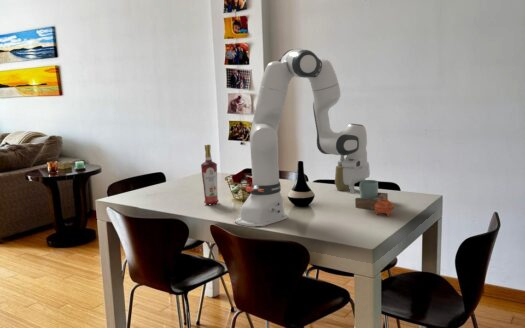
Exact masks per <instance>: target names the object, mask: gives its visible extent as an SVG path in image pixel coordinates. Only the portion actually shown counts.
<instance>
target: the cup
mask: <svg viewBox="0 0 525 328" xmlns="http://www.w3.org/2000/svg"><path fill="white" fill-rule="evenodd" d="M359 185H360V189H359V196H360V197H359V198H365V199H373V198H375V197H377V196H378V192H379V182H378V180H375V179H374V180H373V179H365V180H363V181H359Z"/></svg>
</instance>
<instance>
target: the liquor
mask: <svg viewBox="0 0 525 328" xmlns="http://www.w3.org/2000/svg"><path fill="white" fill-rule="evenodd" d="M204 150H205V151H204V152H205V156H204V157H205V158H204V159H205V161H204V162H202V163H201V164H200V169H201V176H202V184H203V195H204V201H203V202H204V203H205V204H206V205H207V204H215V205H217V204H218V203H219V201H220V200H219V199H218V164H217V163H216V162H215V161H213V159H212V153H211V152H212V151H211V150H212V149H211V144H204ZM216 203H217V204H216Z"/></svg>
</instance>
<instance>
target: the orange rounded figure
mask: <svg viewBox="0 0 525 328" xmlns="http://www.w3.org/2000/svg"><path fill="white" fill-rule="evenodd" d="M374 208H375V214H376V215H378V213H380V214H386V215H387V217H389V216H390V214H391V212H392V211H393V210H394V209H395V205H394V204H393V203H392V202H391V201H390V200H389V199H388V200H386V199H385V200H379V202H377V203H376V204H375V205H374Z"/></svg>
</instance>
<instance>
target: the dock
mask: <svg viewBox="0 0 525 328" xmlns="http://www.w3.org/2000/svg"><path fill="white" fill-rule="evenodd" d="M388 197H389V195H388V193H387V192H379V191H378V196H377V197H375V198H373V199H365V198H361V197H355V198H354V199H355V200H354V201H355V202H354V204H355V208H358V209H366V210H367V209H368V210H375V208H374V205H375V204H376V203H377V202H379V200H385V199H386V200H389V198H388Z"/></svg>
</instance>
